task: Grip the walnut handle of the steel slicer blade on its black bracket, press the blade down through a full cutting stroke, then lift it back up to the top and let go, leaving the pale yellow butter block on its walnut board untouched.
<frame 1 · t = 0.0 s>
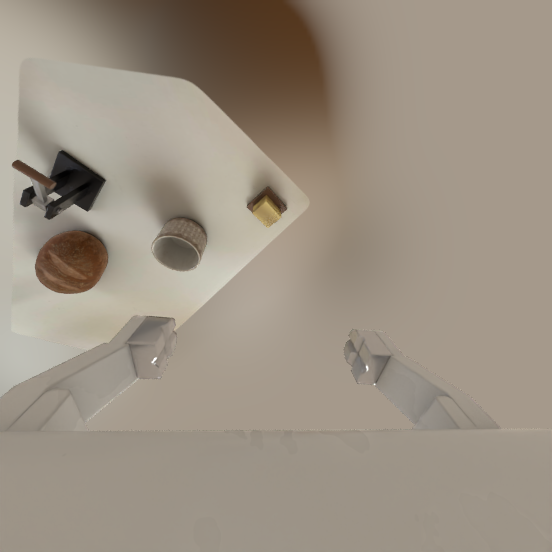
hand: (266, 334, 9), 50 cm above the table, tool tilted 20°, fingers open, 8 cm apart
butter: (267, 206, 57), on the table
slicer: (77, 182, 51), on the table
bread: (81, 257, 69), on the table
planter: (187, 233, 63), on the table
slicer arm: (40, 190, 40), point 13 cm above the table, hinge at 25.0°
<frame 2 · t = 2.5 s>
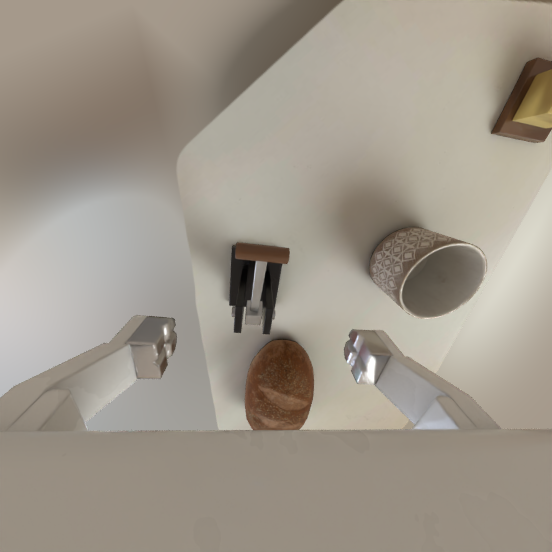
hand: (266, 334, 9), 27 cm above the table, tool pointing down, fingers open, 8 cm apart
butter: (531, 105, 29), on the table
slicer: (255, 277, 38), on the table
bread: (276, 377, 52), on the table
planter: (398, 258, 39), on the table
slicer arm: (257, 290, 24), point 13 cm above the table, hinge at 25.0°
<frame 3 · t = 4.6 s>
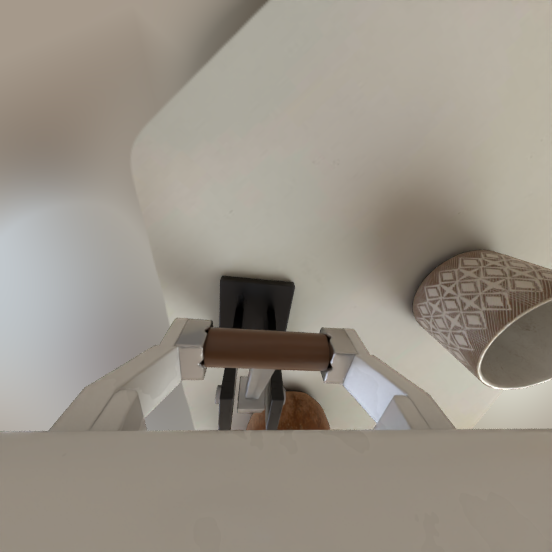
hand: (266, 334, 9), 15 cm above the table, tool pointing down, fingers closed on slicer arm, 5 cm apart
slicer: (254, 317, 28), on the table
bread: (281, 430, 41), on the table
planter: (451, 289, 28), on the table
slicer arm: (256, 381, 13), point 13 cm above the table, hinge at 25.0°, touching gripper
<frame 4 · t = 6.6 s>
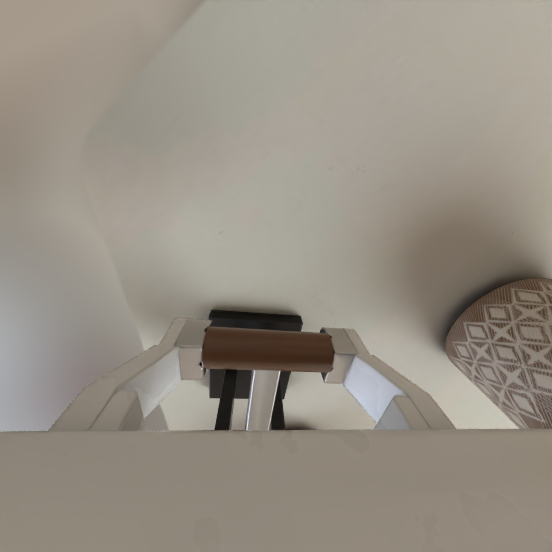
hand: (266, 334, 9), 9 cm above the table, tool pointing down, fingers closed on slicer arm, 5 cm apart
slicer: (252, 355, 23), on the table
planter: (490, 320, 23), on the table
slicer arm: (254, 440, 11), point 11 cm above the table, hinge at -3.0°, touching gripper
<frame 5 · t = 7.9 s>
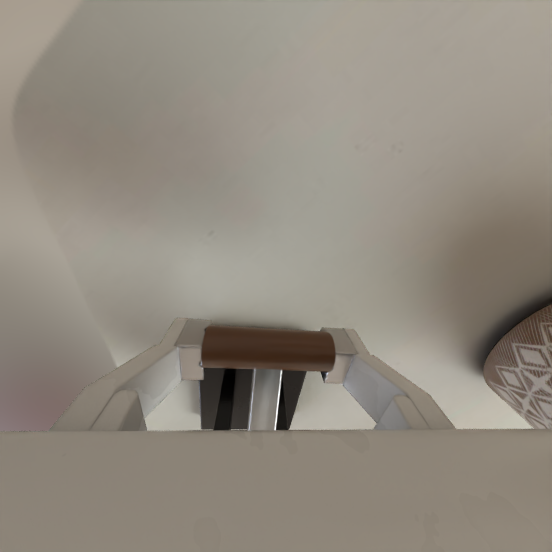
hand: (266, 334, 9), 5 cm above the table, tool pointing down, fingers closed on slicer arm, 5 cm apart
slicer: (251, 380, 19), on the table
planter: (537, 338, 19), on the table
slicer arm: (254, 488, 9), point 9 cm above the table, hinge at -21.1°, touching gripper
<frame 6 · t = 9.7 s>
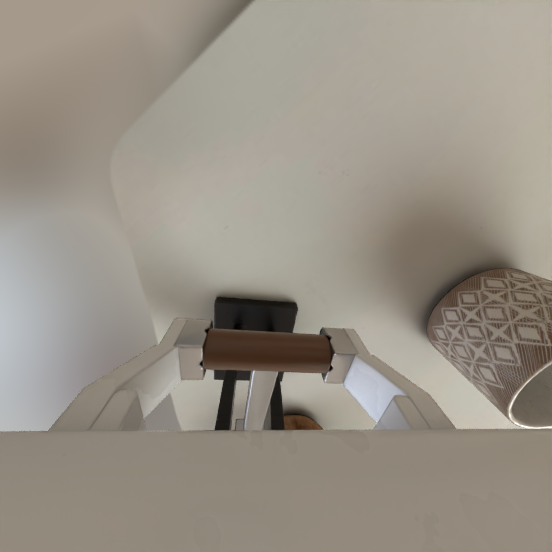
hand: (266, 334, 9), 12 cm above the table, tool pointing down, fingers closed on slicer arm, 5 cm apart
slicer: (252, 340, 25), on the table
bread: (282, 453, 38), on the table
planter: (468, 308, 26), on the table
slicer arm: (254, 413, 12), point 12 cm above the table, hinge at 9.7°, touching gripper
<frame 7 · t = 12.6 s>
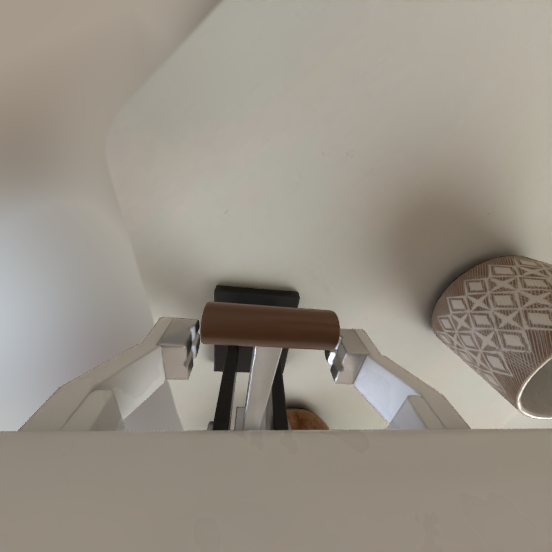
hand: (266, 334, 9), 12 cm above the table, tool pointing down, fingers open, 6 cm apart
slicer: (253, 330, 25), on the table
bread: (283, 448, 38), on the table
planter: (473, 299, 25), on the table
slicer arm: (256, 398, 11), point 12 cm above the table, hinge at 10.0°
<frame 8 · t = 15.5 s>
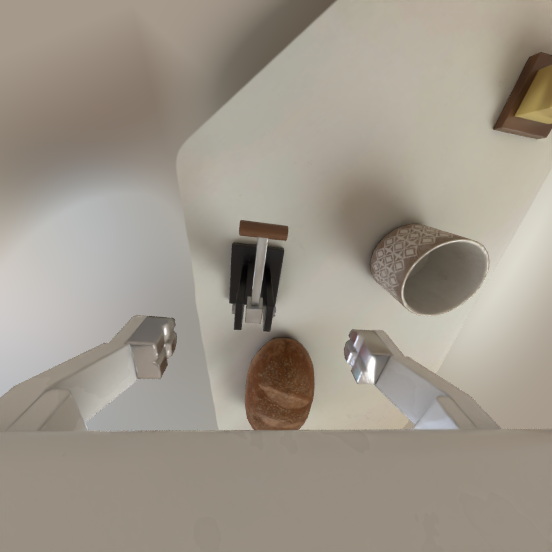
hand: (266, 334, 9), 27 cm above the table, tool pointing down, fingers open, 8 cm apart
butter: (533, 101, 29), on the table
slicer: (255, 275, 38), on the table
bread: (277, 376, 52), on the table
planter: (399, 255, 39), on the table
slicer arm: (258, 277, 25), point 12 cm above the table, hinge at 10.0°
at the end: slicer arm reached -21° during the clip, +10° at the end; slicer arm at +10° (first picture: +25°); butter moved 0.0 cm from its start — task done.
